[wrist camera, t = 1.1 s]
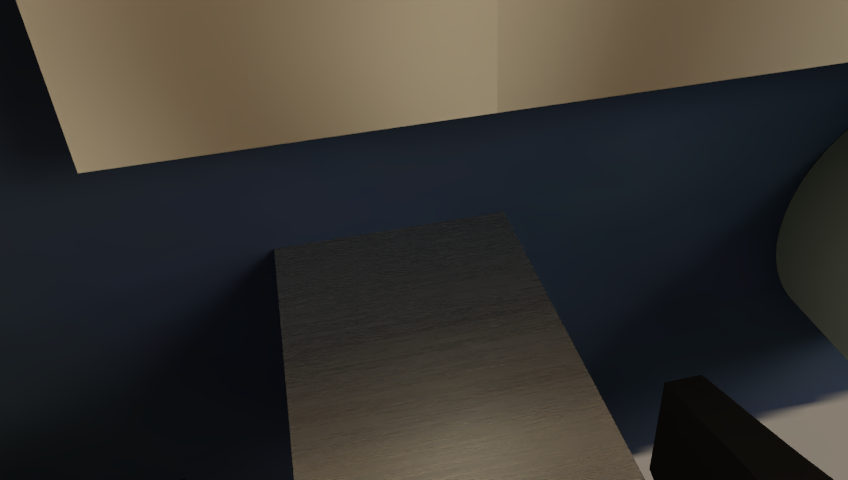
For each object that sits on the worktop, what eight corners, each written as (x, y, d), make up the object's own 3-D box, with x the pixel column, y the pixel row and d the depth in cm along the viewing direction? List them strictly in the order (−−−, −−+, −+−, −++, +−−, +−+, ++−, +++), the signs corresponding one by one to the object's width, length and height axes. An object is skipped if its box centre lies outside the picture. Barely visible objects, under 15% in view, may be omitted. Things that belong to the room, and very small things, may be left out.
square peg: (503, 211, 14) (693, 571, 8) (502, 374, 16) (650, 741, 11) (274, 248, 13) (310, 660, 8) (307, 411, 16) (352, 818, 10)
